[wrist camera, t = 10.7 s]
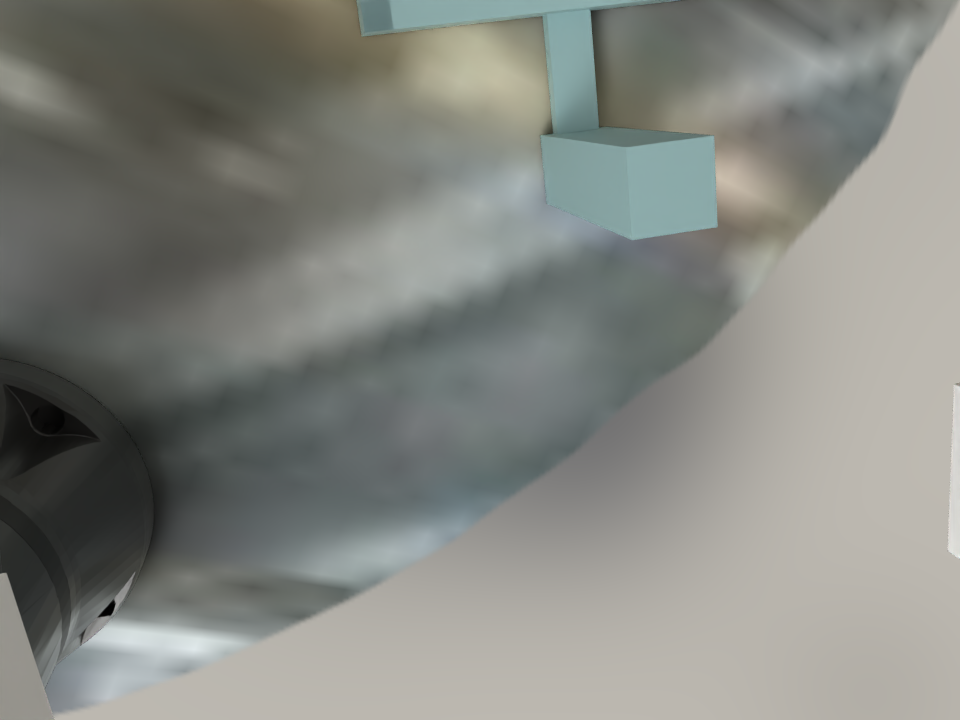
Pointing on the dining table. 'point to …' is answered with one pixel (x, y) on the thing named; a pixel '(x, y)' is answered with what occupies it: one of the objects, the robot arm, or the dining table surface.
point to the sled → (585, 122)
